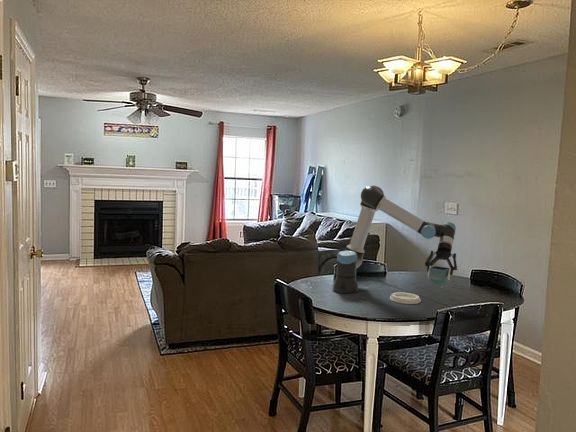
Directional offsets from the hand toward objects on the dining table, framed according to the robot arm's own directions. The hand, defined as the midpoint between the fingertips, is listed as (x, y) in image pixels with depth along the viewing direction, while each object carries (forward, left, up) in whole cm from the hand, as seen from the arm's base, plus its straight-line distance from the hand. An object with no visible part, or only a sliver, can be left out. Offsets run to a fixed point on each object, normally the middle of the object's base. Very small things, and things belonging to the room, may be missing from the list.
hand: (438, 277), depth 268 cm
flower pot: (+3, +2, -4) cm, 5 cm away
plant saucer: (-8, +16, -16) cm, 24 cm away
